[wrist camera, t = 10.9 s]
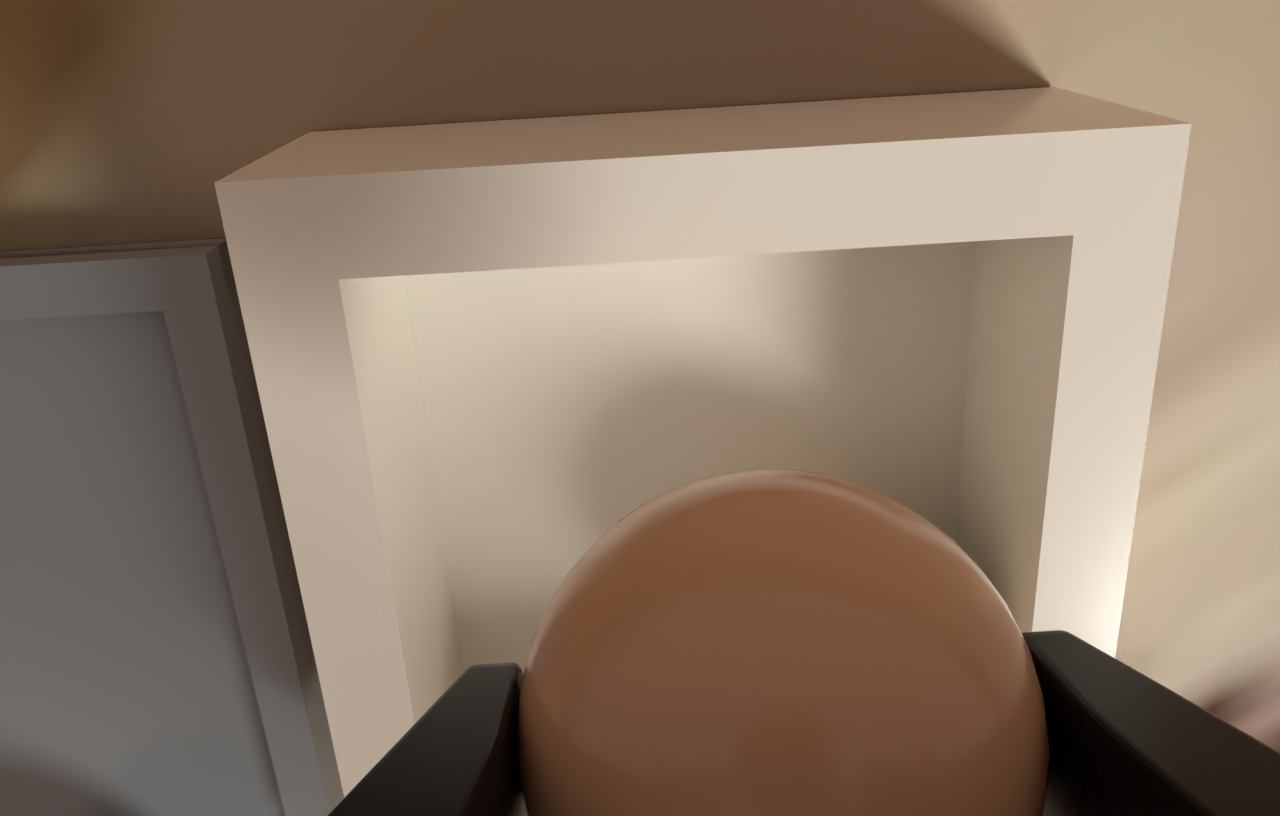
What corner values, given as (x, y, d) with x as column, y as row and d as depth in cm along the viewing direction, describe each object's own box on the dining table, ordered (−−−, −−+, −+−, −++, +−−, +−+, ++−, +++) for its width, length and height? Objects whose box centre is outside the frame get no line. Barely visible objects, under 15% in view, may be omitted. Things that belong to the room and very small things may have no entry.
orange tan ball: (942, 742, 11) (1111, 1141, 7) (554, 765, 11) (521, 1177, 7) (967, 379, 9) (1202, 647, 6) (515, 406, 9) (448, 692, 6)
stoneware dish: (998, 695, 20) (1086, 861, 16) (413, 730, 20) (366, 905, 16) (1053, 87, 15) (1192, 123, 12) (309, 131, 16) (213, 182, 12)
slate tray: (385, 980, 22) (375, 1024, 21) (9, 1002, 22) (-18, 1047, 21) (229, 238, 16) (205, 254, 15) (-292, 269, 16) (-347, 287, 15)
